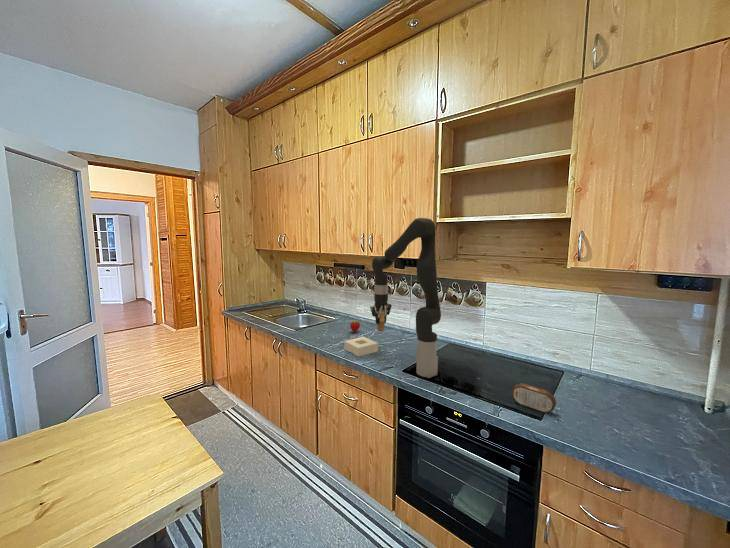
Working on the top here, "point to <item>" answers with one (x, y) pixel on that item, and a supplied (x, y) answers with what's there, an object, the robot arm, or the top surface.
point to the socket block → (361, 346)
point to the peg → (381, 321)
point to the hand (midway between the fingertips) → (380, 323)
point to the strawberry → (355, 326)
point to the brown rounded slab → (534, 398)
